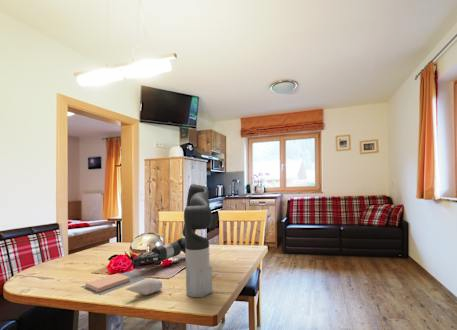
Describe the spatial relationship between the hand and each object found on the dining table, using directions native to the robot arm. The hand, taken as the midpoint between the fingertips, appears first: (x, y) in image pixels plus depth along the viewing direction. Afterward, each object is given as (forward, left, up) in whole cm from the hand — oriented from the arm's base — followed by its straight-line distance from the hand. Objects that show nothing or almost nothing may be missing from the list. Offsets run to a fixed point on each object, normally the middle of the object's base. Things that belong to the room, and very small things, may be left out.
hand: (133, 261), depth 123 cm
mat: (0, +9, -7) cm, 11 cm away
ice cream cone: (-22, +10, -7) cm, 25 cm away
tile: (0, +5, -5) cm, 7 cm away
